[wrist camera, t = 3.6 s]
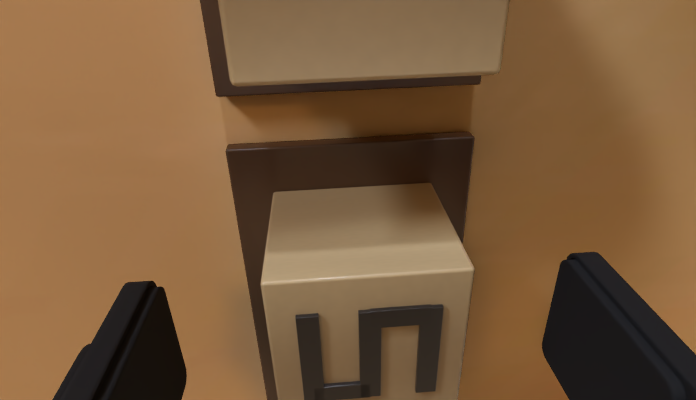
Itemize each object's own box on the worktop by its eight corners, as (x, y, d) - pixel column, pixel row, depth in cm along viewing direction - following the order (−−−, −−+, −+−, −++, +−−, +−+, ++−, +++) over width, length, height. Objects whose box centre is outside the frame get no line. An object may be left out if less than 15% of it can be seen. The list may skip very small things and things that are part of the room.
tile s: (272, 191, 12) (259, 286, 8) (431, 181, 12) (477, 271, 9) (287, 312, 14) (281, 428, 10) (423, 302, 14) (458, 413, 10)
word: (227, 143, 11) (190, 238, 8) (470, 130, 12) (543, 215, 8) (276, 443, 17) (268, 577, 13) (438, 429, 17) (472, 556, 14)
